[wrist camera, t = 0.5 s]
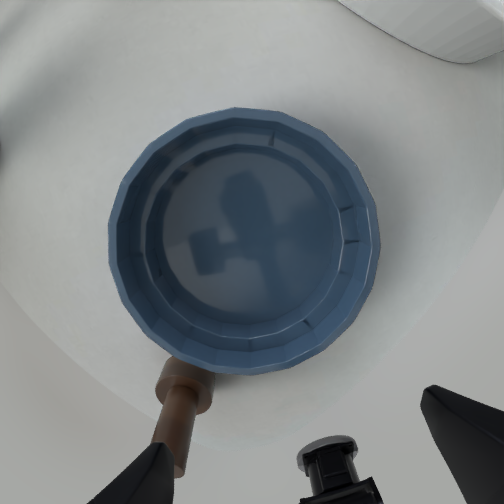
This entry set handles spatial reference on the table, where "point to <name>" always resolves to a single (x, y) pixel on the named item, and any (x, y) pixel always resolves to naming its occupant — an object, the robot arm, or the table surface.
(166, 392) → the muddler
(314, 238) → the bowl
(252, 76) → the table surface
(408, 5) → the white wheel
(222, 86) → the table surface
